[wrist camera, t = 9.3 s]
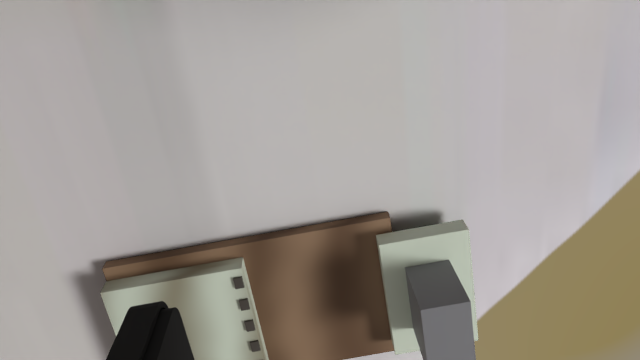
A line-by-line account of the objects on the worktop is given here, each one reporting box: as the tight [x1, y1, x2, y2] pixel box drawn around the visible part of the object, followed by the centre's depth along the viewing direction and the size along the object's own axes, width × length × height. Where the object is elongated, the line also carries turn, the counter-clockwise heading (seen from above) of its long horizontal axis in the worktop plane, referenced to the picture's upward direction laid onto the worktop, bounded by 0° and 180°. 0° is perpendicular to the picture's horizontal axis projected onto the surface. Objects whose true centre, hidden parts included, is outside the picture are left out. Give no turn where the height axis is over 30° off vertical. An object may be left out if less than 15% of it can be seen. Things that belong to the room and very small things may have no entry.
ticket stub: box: [376, 220, 478, 360], centre depth 39 cm, size 6×9×6 cm, turn 10°
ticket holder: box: [100, 212, 394, 360], centre depth 42 cm, size 20×11×3 cm, turn 100°
